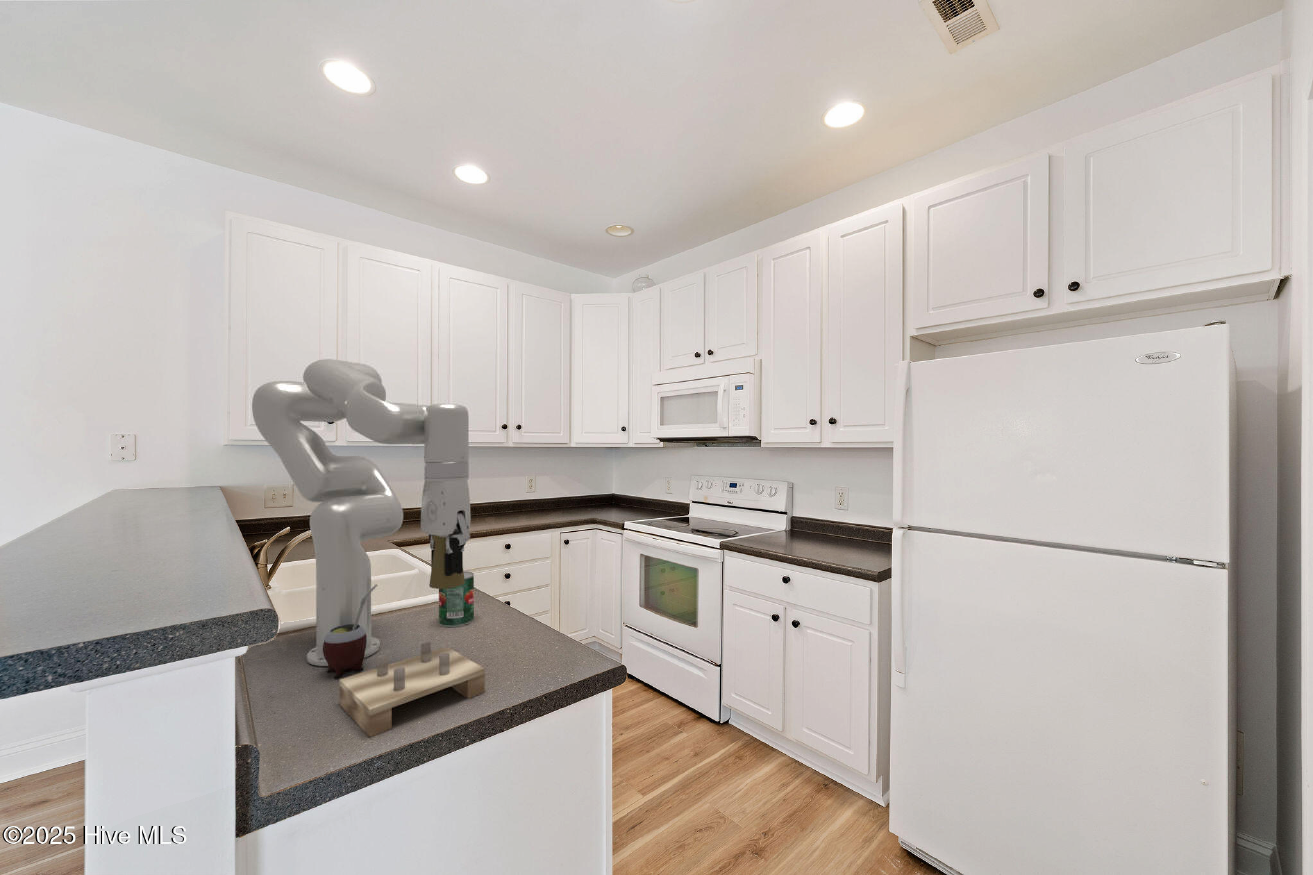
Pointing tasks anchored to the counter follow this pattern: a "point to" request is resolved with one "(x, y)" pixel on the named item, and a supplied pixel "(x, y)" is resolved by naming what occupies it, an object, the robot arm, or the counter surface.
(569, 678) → the counter surface
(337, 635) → the mate gourd
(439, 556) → the olive chess pawn
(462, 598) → the canned tomato
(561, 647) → the counter surface
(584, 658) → the counter surface
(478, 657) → the counter surface
